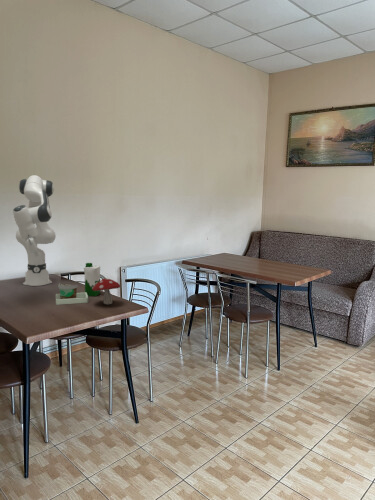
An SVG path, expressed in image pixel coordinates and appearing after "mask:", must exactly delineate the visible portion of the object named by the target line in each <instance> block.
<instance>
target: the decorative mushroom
mask: <svg viewBox="0 0 375 500" xmlns="http://www.w3.org/2000/svg"><path fill="white" fill-rule="evenodd" d="M119 288H121V284H120V283H118V282H117V281H116V280H113V279H110V278H106V277H105V278H103V279H100V281H99V282H98V283H97V284H96V285H95V286H94V287H93V288H92V290H93V291H100V292H101V291H104V295H103V296H104V297H103V304H104V305H112V304H113V297H112V293H111V291H110V290H113V289H119Z"/></svg>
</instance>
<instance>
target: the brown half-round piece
mask: <svg viewBox="0 0 375 500" xmlns="http://www.w3.org/2000/svg"><path fill="white" fill-rule="evenodd" d="M57 288H58V289H59V294H60V297H61V299H71V298H76V293H78V292H77V290H78V284H77V283H76V284H69V283H66V284H65V283H62V282H59V283H58V285H57Z"/></svg>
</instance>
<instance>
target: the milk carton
mask: <svg viewBox="0 0 375 500" xmlns="http://www.w3.org/2000/svg"><path fill="white" fill-rule="evenodd" d="M83 272H84V292H87V295H88V297H97V296H98V295H100V294H101V291H93V290H92V288H93V287H94V286H95V285H96V284H97V283H98V282H99V281H101V266H99V265H93V262H86V263H85V266H84V267H83Z"/></svg>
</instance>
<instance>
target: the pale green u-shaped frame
mask: <svg viewBox="0 0 375 500" xmlns="http://www.w3.org/2000/svg"><path fill="white" fill-rule="evenodd" d="M86 303H89V296H88V295H87V292H85V291H84V292H76V298H71V299H61V297H60V293H56V294H55V305H56V306H57V305H58V306H59V305H70V304H71V305H72V304H86Z"/></svg>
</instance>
